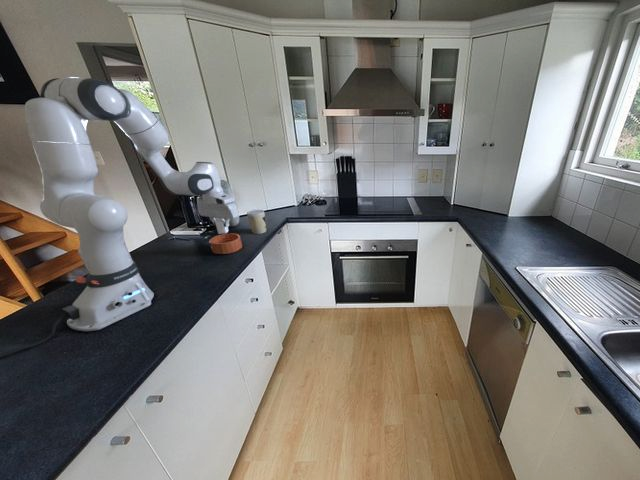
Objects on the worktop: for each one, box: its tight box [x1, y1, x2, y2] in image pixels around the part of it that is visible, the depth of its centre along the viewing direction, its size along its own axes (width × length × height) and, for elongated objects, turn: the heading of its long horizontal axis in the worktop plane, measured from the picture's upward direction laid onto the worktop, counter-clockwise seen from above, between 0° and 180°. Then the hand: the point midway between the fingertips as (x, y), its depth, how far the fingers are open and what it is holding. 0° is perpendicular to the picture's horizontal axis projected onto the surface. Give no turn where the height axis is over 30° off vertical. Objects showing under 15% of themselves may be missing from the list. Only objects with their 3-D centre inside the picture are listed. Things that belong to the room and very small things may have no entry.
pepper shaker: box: [215, 217, 229, 235], centre depth 132 cm, size 4×4×10 cm
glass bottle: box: [220, 179, 240, 228], centre depth 162 cm, size 10×10×28 cm
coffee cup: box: [246, 209, 267, 235], centre depth 158 cm, size 9×9×12 cm
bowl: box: [208, 232, 243, 255], centre depth 137 cm, size 14×14×6 cm
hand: (221, 225), depth 133 cm, fingers closed on pepper shaker, 5 cm apart
